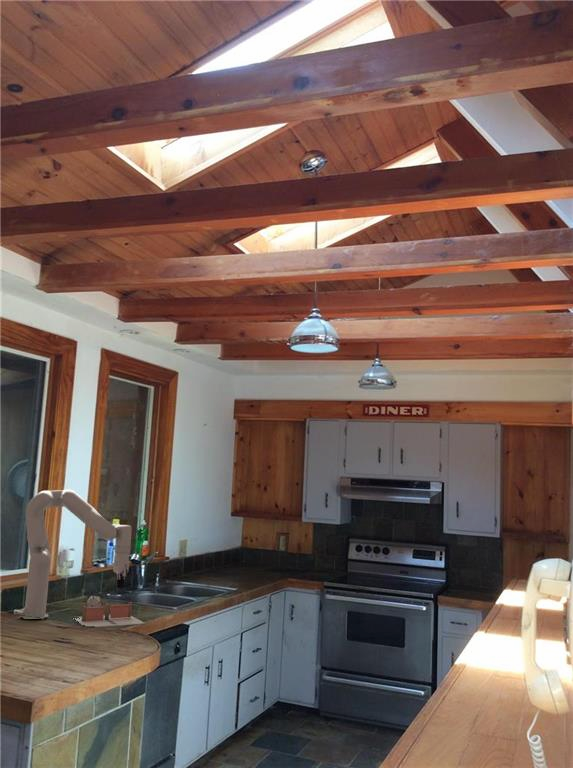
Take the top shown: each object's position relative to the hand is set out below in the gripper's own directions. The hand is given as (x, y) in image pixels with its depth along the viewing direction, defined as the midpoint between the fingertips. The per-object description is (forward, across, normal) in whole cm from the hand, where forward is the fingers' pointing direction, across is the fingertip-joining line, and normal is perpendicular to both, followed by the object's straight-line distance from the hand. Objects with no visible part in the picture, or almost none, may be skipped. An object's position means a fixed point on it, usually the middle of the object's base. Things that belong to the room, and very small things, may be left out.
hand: (120, 587), depth 333 cm
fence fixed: (+13, +6, -14) cm, 20 cm away
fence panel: (+13, +6, -1) cm, 15 cm away
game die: (+14, -18, -7) cm, 24 cm away
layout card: (+14, +8, -8) cm, 18 cm away
